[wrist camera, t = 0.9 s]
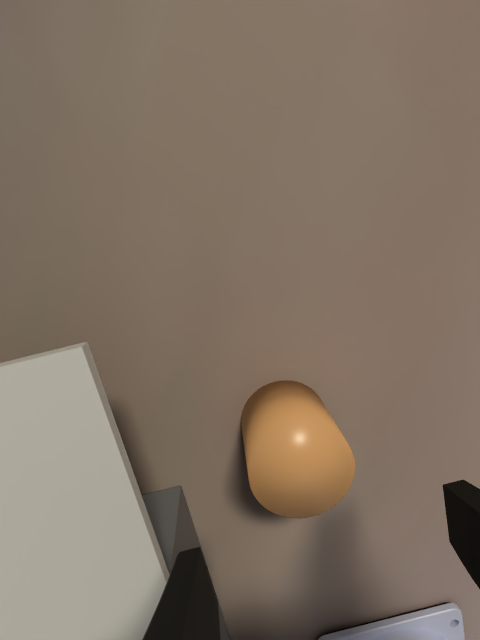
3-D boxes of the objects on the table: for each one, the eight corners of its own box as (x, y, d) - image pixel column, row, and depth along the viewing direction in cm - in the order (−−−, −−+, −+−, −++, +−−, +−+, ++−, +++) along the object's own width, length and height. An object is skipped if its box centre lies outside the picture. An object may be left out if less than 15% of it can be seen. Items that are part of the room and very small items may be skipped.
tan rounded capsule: (331, 446, 19) (362, 503, 15) (251, 466, 19) (261, 529, 15) (316, 371, 18) (345, 411, 14) (231, 392, 18) (237, 438, 14)
